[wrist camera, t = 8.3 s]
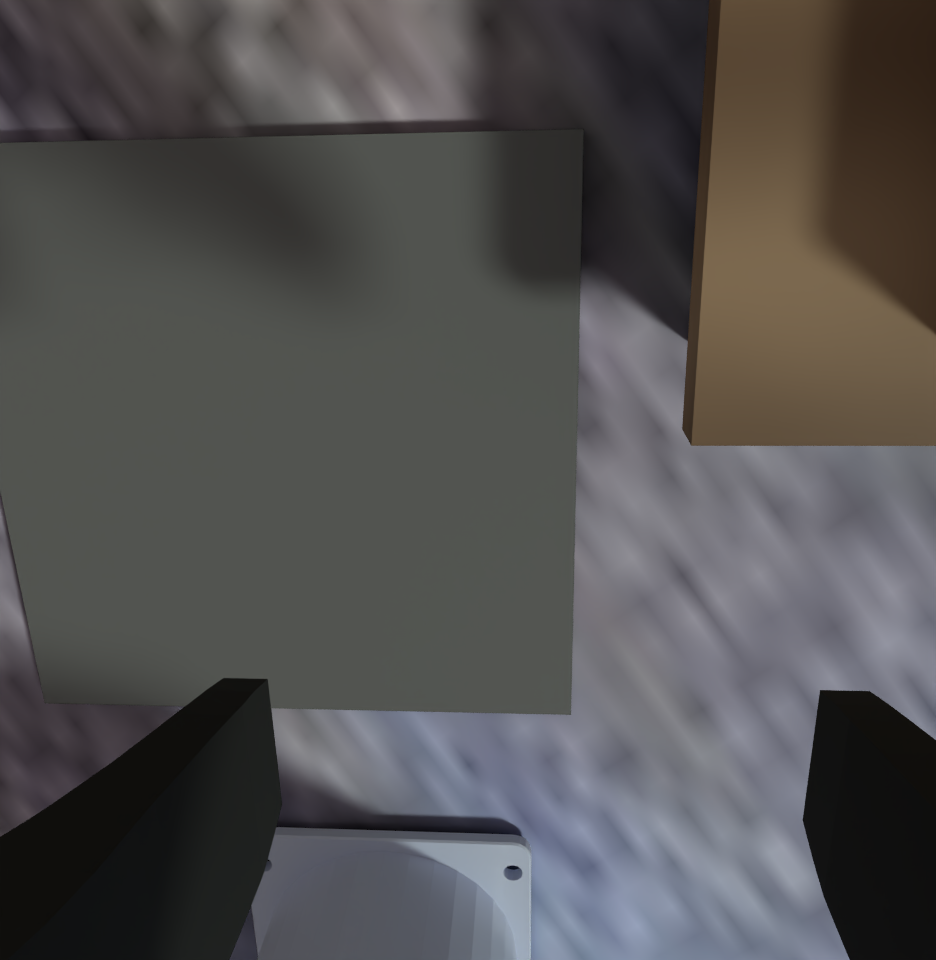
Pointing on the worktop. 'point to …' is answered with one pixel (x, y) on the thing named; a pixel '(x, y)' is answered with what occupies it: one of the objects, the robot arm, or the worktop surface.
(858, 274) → the lid
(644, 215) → the worktop surface
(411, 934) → the robot arm
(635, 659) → the worktop surface
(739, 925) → the worktop surface
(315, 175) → the mat
